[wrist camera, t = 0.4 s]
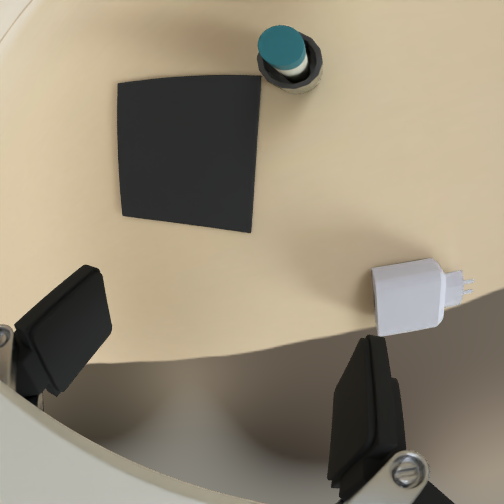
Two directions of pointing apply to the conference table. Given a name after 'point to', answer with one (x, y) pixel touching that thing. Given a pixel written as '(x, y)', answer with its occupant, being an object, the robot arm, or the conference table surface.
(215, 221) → the mat
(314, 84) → the pen cup
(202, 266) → the conference table surface
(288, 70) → the marker
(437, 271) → the charger
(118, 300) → the conference table surface
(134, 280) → the conference table surface
